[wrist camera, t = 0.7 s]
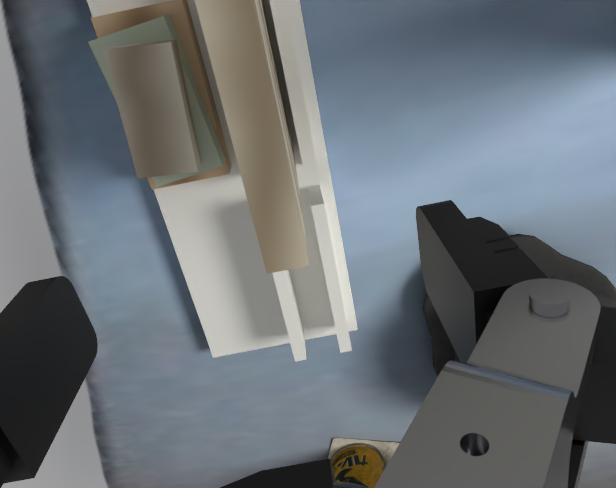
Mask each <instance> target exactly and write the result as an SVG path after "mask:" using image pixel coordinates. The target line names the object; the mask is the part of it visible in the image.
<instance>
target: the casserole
mask: <svg viewBox="0 0 616 488" xmlns="http://www.w3.org/2000/svg"><path fill="white" fill-rule="evenodd" d="M509 237H510V239H512V240H513V241H514V242H515V243H516V244H517V245H518V246H519V249H522V250H523V252H524V253H525V254H526V255H527V256H528V257H529V258H530V259H531V260H532V261H533V262H534V263H535V264H536V265H537V267H538V268H539V269H540V270H541V271H542V272H543V273H544V274H545V275H546V276H547V277H548V278H549V279H559V280H564V281H568V282H572V283H575V284H577V285H580V286H582V287H584V288H586V289H588V290H589V291H590V292H592V293H593V294H594V295H595V296H596V297H597V299H598V301H599V303H600V306H603V307H613V308H616V289H615V287H614V286H613V285H612V283H611V282H610V281H609V280H608V278H607V277H606V276H605V275H603V274H602V273H601V272H599V271H598V270H597V269H595V268H594V267H592V266H589V265H587V264H584V263H582V262H579V261H577V260H574V259H572V258H569V257H566V256H564V255H561V254H560V253H558V252H557V251H556V250H554V249H553V248H551V247H550V246H549V245H547V244H546V243H544V242H542V241H541V240H539V239H538V238H536V237H534V236H529V235H522V234H516V235H510V236H509ZM423 311H424V315H425V318H426V322H427V325H428V328H429V331H430V334H431V336H432V351H433V365H434V368H435V371H436V374H437V376H439V374H440V372H441V370H442V369H443V367H444V366H445V365H446V363H447V362H449V361H450V360H456V361H460V360H459V358H458V356H457V354H456V352H455V350H454V348H453V346H452V344H451V341H450V339H449V337H448V335H447V333H446V331H445V329H444V327H443V325H442V323H441V321H440V319H439V317H438V315H437V313H436V310H435V308H434V306H433V304H432V302H431V300H430V298H429V296H428V294H426V295H425V300H424V305H423Z"/></svg>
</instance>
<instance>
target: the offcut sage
mask: <svg viewBox="0 0 616 488" xmlns="http://www.w3.org/2000/svg"><path fill="white" fill-rule="evenodd" d="M176 39H177V44H178V49H179V54H180V59H181V64H182V69H183V74H184V79H185V83H186V88H187V93H188V98H189V103H190V108H191V113H192V118H193V123H194V127H195V132H196V137H197V142H198V147H199V152H200V157H201V162H202V163H201V165H200V168H199V170H198V172H191V173H182V174H174V175H165V176H157V177H152V179H153V181H154V183H155V185H156V187H158V186H161V185H164V184H167V183H171V182H174V181H177V180H180V179H183V178H186V177H190V176H193V175H196V174H199V173H202V172H206V171H209V170H212V169H215V168H218V167H221V166H223V164H224V160H225V156H224V153H223V151H222V148H221V145H220V143H219V140H218V138H217V135H216V133H215V130H214V128H213V125H212V122H211V120H210V117H209V115H208V112H207V110H206V107H205V105H204V102H203V99H202V97H201V94H200V92H199V89H198V87H197V84H196V82H195V79H194V76H193V74H192V71H191V69H190V66H189V64H188V61H187V58H186V56H185V53H184V51H183V48H182V46H181V43H180V41H179V38H178V35H177V33H176V30H175V28H174V25H173V23H172V20H171V18H170V15H166V16H162V17H159V18H156V19H153V20H150V21H147V22H144V23H141V24H139V25H136V26H133V27H130V28H127V29H124V30H121V31H118V32H115V33H112V34H109V35H106V36H103V37H100V38H98V39H95V40H92V41H89V42H88V43H89V45H90V47H91V50H92V52H93V54H94V56H95V58H96V60H97V62H98V64H99V66H100V69H101V71H102V73H103V75H104V77H105V79H106V81H107V83H108V86H109V88H110V90H111V92H112V94H113V96H114V98H115V100H116V97H115V93H114V90H113V86H112V82H111V79H110V75H109V71H108V67H107V64H106V60H105V56H104V53H103V50H104V49H107V48H110V47H114V46H123V45H132V44H140V43H149V42H158V41H167V40H176ZM116 103H117V101H116ZM117 105H118V104H117Z"/></svg>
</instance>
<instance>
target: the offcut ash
mask: <svg viewBox="0 0 616 488" xmlns="http://www.w3.org/2000/svg"><path fill="white" fill-rule="evenodd" d="M103 53H104V56H105V60H106V64H107V67H108V71H109V75H110V79H111V82H112V86H113V90H114V93H115V97H116V101H117V104H118V108H119V112H120V116H121V119H122V123H123V127H124V130H125V134H126V138H127V142H128V145H129V149H130V153H131V156H132V160H133V164H134V167H135V171H136V175H137V179H139V178H148V177H157V176H165V175H174V174H182V173H191V172H198V170H199V168H200V165H201V163H202V162H201V157H200V152H199V147H198V142H197V137H196V132H195V127H194V123H193V118H192V113H191V108H190V103H189V98H188V93H187V88H186V83H185V79H184V74H183V69H182V64H181V59H180V54H179V49H178V44H177V39H176V40H167V41H158V42H149V43H140V44H132V45H123V46H114V47H110V48H107V49H104V50H103Z"/></svg>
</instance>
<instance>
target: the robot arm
mask: <svg viewBox="0 0 616 488" xmlns="http://www.w3.org/2000/svg"><path fill="white" fill-rule="evenodd" d="M416 221H417V231H418V240H419V250H420V260H421V269H422V275H423V280H424V284H425V288H426V291H427V294H428V296H429V298H430V300H431V302H432V304H433V306H434V308H435V310H436V313H437V315H438V317H439V319H440V321H441V323H442V325H443V327H444V329H445V331H446V333H447V335H448V337H449V339H450V341H451V344H452V346H453V348H454V350H455V352H456V354H457V356H458V358H459V360H460V361H456V360H450V361H449V362H447V363H446V365H445V366H444V367H443V369H442V370H441V372H440V374H439V376H438V377H437V379H436V381H435V383H434V384H433V386H432V388H431V390H430V391H429V393H428V395H427V396H426V398H425V400H424V402H423V403H422V405H421V407H420V409H419V410H418V412H417V414H416V416H415V417H414V419H413V421H412V423H411V424H410V426H409V428H408V430H407V431H406V433H405V435H404V436H403V438H402V440H401V442H400V443H399V445H398V447H397V449H396V450H395V452H394V454H393V456H392V457H391V459H390V461H389V463H388V464H387V466H386V468H385V470H384V471H383V473H382V475H381V477H380V478H379V480H378V482H377V483H376V485H375V487H374V488H578V484H579V480H580V476H581V471H582V467H583V463H584V458H585V454H586V450H587V445H588V441H592V442H602V443H612V444H616V308H613V307H603V306H600V303H599V301H598V299H597V297H596V296H595V295H594V294H593V293H592V292H590V291H589V290H588V289H586V288H584V287H582V286H580V285H577V284H575V283H572V282H568V281H564V280H559V279H549V278H548V277H547V276H546V275H545V274H544V273H543V272H542V271H541V270H540V269H539V268H538V267H537V265H536V264H535V263H534V262H533V261H532V260H531V259H530V258H529V257H528V256H527V255H526V254H525V253H524V252H523V250H522V249H519V246H518V245H517V244H516V243H515V242H514V241H513V240H512V239H510V237H509V235H508V234H507V233H506V232H505V231H504V230H503V229H502V228H501V227H500V226H499V225H498V224H495V223H493V222H491V221H488V220H486V219H484V218H482V217H475V218H470V219H466V217H465V216H464V215H463V214H462V212H461V211H460V210H459V209H458V208H457V206H456V205H455V204H454V203H453V202H452V201H451V200H449V201H444V202H439V203H434V204H429V205H423V206H418V207H417V209H416ZM96 353H97V337H96V333H95V331H94V328H93V326H92V324H91V322H90V320H89V318H88V316H87V314H86V312H85V310H84V308H83V306H82V303H81V301H80V299H79V297H78V295H77V293H76V291H75V289H74V287H73V285H72V283H71V282H70V281H69V280H68V279H67V278H66V277H64V276H59V277H54V278H49V279H44V280H39V281H34V282H29V283H27V284H26V285H25V286H24V287H23V288H22V289H21V290H20V291H19V293H18V294H17V295H16V296H15V297H14V298H13V299H12V300H11V302H10V303H9V304H8V305H7V306H6V308H5V309H4V310H3V311H2V312H1V313H0V488H1V486H2V485H3V483H8V482H13V481H19V480H25V479H30V478H34V477H35V475H36V473H37V471H38V469H39V467H40V465H41V463H42V461H43V459H44V457H45V455H46V454H47V452H48V450H49V448H50V446H51V444H52V442H53V440H54V438H55V436H56V434H57V432H58V430H59V428H60V426H61V424H62V422H63V420H64V418H65V416H66V414H67V412H68V410H69V408H70V406H71V404H72V402H73V400H74V398H75V396H76V394H77V392H78V391H79V389H80V386H81V385H82V382H83V381H84V379H85V377H86V375H87V373H88V371H89V369H90V367H91V365H92V363H93V361H94V359H95V357H96ZM221 488H370V487H367V486H363V485H358V484H353V483H348V482H337V481H336V480H335V476H334V472H333V468H332V464H331V460H330V459H326V460H320V461H314V462H309V463H303V464H297V465H292V466H286V467H280V468H275V469H269V470H263V471H260V472H257V473H255V474H253V475H250V476H248V477H245V478H243V479H240V480H238V481H235V482H233V483H230V484H228V485H226V486H223V487H221Z"/></svg>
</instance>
